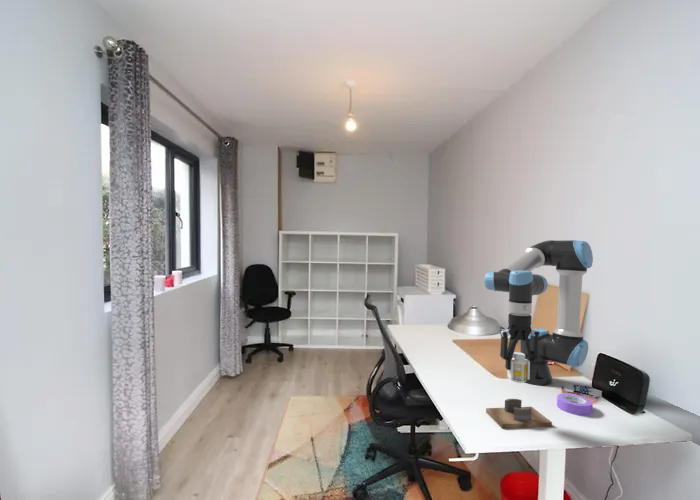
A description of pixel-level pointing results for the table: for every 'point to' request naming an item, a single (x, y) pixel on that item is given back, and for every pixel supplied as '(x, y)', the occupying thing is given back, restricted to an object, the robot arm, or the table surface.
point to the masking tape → (574, 404)
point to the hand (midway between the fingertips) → (518, 378)
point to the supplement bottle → (519, 367)
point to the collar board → (517, 416)
